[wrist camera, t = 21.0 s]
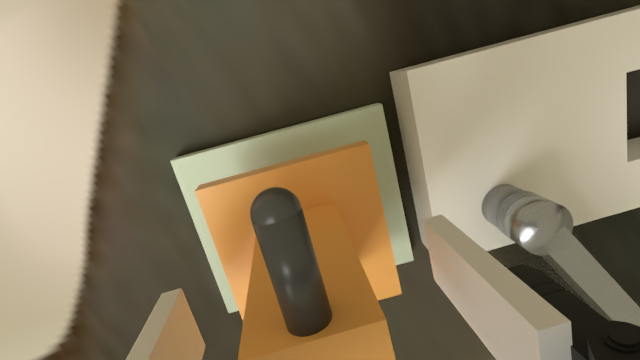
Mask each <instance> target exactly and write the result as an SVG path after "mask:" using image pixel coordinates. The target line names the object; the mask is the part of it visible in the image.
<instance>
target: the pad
mask: <svg viewBox="0 0 640 360" xmlns="http://www.w3.org/2000/svg"><path fill="white" fill-rule="evenodd" d="M361 140H365V141H367V142H368V143H369V145H370V150H371V154H372V159H373V163H374V168H375V172H376V177H377V182H378V186H379V191H380V195H381V200H382V205H383V209H384V214H385V218H386V223H387V227H388V232H389V237H390V241H391V246H392V250H393V255H394V259H395V264H396V265H399V264H403V263H406V262H410V261H413V260H414V259H413V254H412V249H411V244H410V239H409V234H408V229H407V224H406V219H405V214H404V209H403V204H402V199H401V194H400V190H399V185H398V180H397V175H396V170H395V165H394V160H393V155H392V150H391V145H390V140H389V135H388V130H387V125H386V120H385V115H384V110H383V105H382V104H381V103H375V104H371V105H367V106H364V107H360V108H356V109H353V110H349V111H345V112H342V113H338V114H334V115H330V116H327V117H323V118H319V119H316V120H312V121H308V122H305V123H301V124H297V125H293V126H290V127H286V128H282V129H279V130H275V131H271V132H268V133H264V134H260V135H257V136H253V137H249V138H245V139H242V140H238V141H234V142H231V143H227V144H223V145H220V146H216V147H212V148H208V149H205V150H201V151H197V152H194V153H190V154H186V155H183V156H179V157H175V158H174V159H173V160H171V161H170V162H171V164H172V167H173V170H174V172H175V175H176V177H177V180H178V183H179V185H180V188H181V191H182V193H183V196H184V198H185V201H186V204H187V206H188V209H189V211H190V214H191V217H192V219H193V222H194V224H195V227H196V230H197V232H198V235H199V237H200V240H201V243H202V245H203V248H204V250H205V253H206V256H207V258H208V261H209V263H210V266H211V269H212V271H213V274H214V277H215V279H216V282H217V284H218V287H219V290H220V292H221V295H222V297H223V300H224V303H225V305H226V308H227V310H228V313H232V312H235V311H239V309H238V306H237V304H236V301H235V298H234V296H233V293H232V290H231V288H230V285H229V282H228V280H227V277H226V274H225V272H224V269H223V266H222V264H221V261H220V258H219V255H218V253H217V250H216V247H215V245H214V242H213V239H212V237H211V234H210V231H209V229H208V226H207V223H206V221H205V218H204V215H203V213H202V210H201V207H200V205H199V202H198V199H197V196H196V194H195V190H196V189H197V187H198V186H199V185H201V184H204V183H208V182H212V181H215V180H219V179H223V178H226V177H230V176H234V175H237V174H241V173H245V172H248V171H252V170H255V169H259V168H263V167H266V166H270V165H274V164H277V163H281V162H285V161H288V160H292V159H296V158H299V157H303V156H307V155H310V154H314V153H318V152H321V151H325V150H328V149H332V148H336V147H339V146H343V145H347V144H350V143H354V142H358V141H361Z"/></svg>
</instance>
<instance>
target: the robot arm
mask: <svg viewBox="0 0 640 360" xmlns="http://www.w3.org/2000/svg"><path fill="white" fill-rule="evenodd" d="M423 223H424V228H425V233H426V239H427V244H428V250H429V255H430V260H431V266H432V271H433V276H434V280H435V281H436V283H437V284H438V285H439V287H440V288H441V289H442V290H443V292H444V293H445V294H446V296H447V297H448V298H449V299H450V301H451V302H452V303H453V305H454V306H455V307H456V309H457V310H458V311H459V312H460V314H461V315H462V316H463V318H464V319H465V320H466V321H467V323H468V324H469V325H470V327H471V328H472V329H473V330H474V332H475V333H476V334H477V336H478V337H479V338H480V339H481V341H482V342H483V343H484V345H485V346H486V347H487V349H488V350H489V351H490V352H491V354H492V355H493V356H494V358H495V359H496V360H640V326H637V325H634V324H631V323H628V322H622V321H615V320H613V321H609V320H607V319H606V318H605V317H603V316H602V315H600V314H599V313H598V312H596V311H595V310H594V309H592V308H591V307H590V306H588V305H587V304H585V303H584V302H583V301H581V300H580V299H579V298H577V297H576V296H574V295H573V294H572V293H570V292H569V291H568V290H567V291H566V290H565V288H564V287H562V286H561V285H559V284H558V283H557V282H554V280H553V279H551V278H550V277H549V276H547V275H546V274H544V273H543V272H542V271H540V270H538V269H535V268H532V267H529V266H527V265H524V264H521V265H518V266H514V267H511V268H506V267H505V266H503V265H502V264H501V263H500V262H499V261H497V260H496V259H495V258H494V257H493V256H491V255H490V254H489V253H488V252H487V251H485V250H484V249H483V248H482V247H480V246H479V245H478V244H477V243H476V242H474V241H473V240H472V239H471V238H470V237H468V236H467V235H466V234H465V233H464V232H462V231H461V230H460V229H459V228H458V227H456V226H455V225H454V224H453V223H452V222H450V221H449V220H448V219H447V218H446V217H444V216H443V215H442V214H441V215H437V216H434V217H430V218H426V219H423ZM204 350H205V343H204V341H203V338H202V336H201V334H200V331H199V329H198V326H197V324H196V322H195V319H194V317H193V314H192V312H191V310H190V307H189V305H188V302H187V300H186V298H185V295H184V293H183V291H182V288H180V289H176V290H172V291H169V292H165V293H162V294H161V296H160V298H159V300H158V301H157V303H156V305H155V307H154V309H153V311H152V312H151V314H150V316H149V318H148V320H147V322H146V323H145V325H144V327H143V329H142V331H141V333H140V334H139V336H138V338H137V340H136V342H135V344H134V345H133V347H132V349H131V351H130V353H129V355H128V356H127V358H126V360H202V357H203V354H204Z"/></svg>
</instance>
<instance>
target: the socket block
mask: <svg viewBox="0 0 640 360" xmlns="http://www.w3.org/2000/svg"><path fill="white" fill-rule="evenodd" d="M638 69H640V5H638V6H634V7H630V8H627V9H623V10H619V11H616V12H612V13H608V14H604V15H601V16H597V17H593V18H589V19H586V20H582V21H578V22H574V23H571V24H567V25H563V26H560V27H556V28H552V29H548V30H545V31H541V32H537V33H533V34H530V35H526V36H522V37H518V38H515V39H511V40H507V41H504V42H500V43H496V44H492V45H489V46H485V47H481V48H477V49H474V50H470V51H466V52H462V53H459V54H455V55H451V56H448V57H444V58H440V59H436V60H433V61H429V62H425V63H421V64H418V65H414V66H410V67H407V68H403V69H399V70H395V71H392V72H389V74H390V80H391V85H392V90H393V95H394V100H395V106H396V111H397V116H398V121H399V127H400V132H401V137H402V142H403V147H404V153H405V158H406V163H407V168H408V174H409V179H410V184H411V189H412V194H413V200H414V205H415V210H416V215H417V221H418V226H419V231H420V236H421V241H422V243H423V244H424V245H425V247H426V248H427V249H428V244H427V239H426V233H425V228H424V223H423V219H426V218H430V217H434V216H437V215H441V214H442V215H443V216H444V217H446V218H447V219H448V220H449V221H450V222H452V223H453V224H454V225H455V226H456V227H458V228H459V229H460V230H461V231H462V232H464V233H465V234H466V235H467V236H468V237H470V238H471V239H472V240H473V241H474V242H476V243H477V244H478V245H479V246H480V247H482V248H483V249H484V250H485V251H489V250H493V249H496V248H500V247H503V246H507V245H510V244H514V243H515V242H514V241H513V240H511V239H510V238H508V237H507V236H505V235H504V234H503V233H501V231H500V230H499V228H498V226H497V223H496V215H497V211H498V208H499V206H500V205H501V203H502V202H503V201H504V200H505V199H506V198H507V197H508V196H510V195H511V194H513V193H515V192H519V191H530V192H533V193H535V194H538V195H540V196H542V197H544V198H546V199H549V200H551V201H553V202H555V203H558V204H560V205H562V206H564V207H566V208H567V209H568V210H569V211H570V213H571V215H572V217H573V226H576V225H579V224H583V223H586V222H590V221H593V220H597V219H600V218H604V217H607V216H611V215H614V214H618V213H621V212H625V211H628V210H631V209H635V208H638V207H640V137H637V138H634V139H630V140H627V89H626V73H627V72H631V71H634V70H638Z"/></svg>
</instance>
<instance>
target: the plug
mask: <svg viewBox="0 0 640 360" xmlns="http://www.w3.org/2000/svg"><path fill="white" fill-rule="evenodd" d="M195 194H196V196H197V199H198V202H199V205H200V207H201V210H202V213H203V215H204V218H205V221H206V223H207V226H208V229H209V231H210V234H211V237H212V239H213V242H214V245H215V247H216V250H217V253H218V255H219V258H220V261H221V264H222V266H223V269H224V272H225V274H226V277H227V280H228V282H229V285H230V288H231V290H232V293H233V296H234V298H235V301H236V304H237V306H238V309H239V312H240V314H241V317H242V320H243V327H242V334H241V341H240V348H239V354H238V360H396V359H395V354H394V350H393V346H392V342H391V338H390V333H389V329H388V325H387V321H386V318H385V316H384V314H383V311H382V309H381V307H380V305H379V302H378V301H379V300H382V299H385V298H389V297H392V296H396V295H399V294H402V292H401V287H400V282H399V278H398V273H397V269H396V264H395V259H394V255H393V250H392V246H391V241H390V237H389V232H388V227H387V223H386V218H385V214H384V209H383V205H382V200H381V195H380V191H379V186H378V182H377V177H376V172H375V168H374V163H373V159H372V154H371V150H370V145H369V143H368V142H367V141H365V140H361V141H358V142H354V143H350V144H347V145H343V146H339V147H336V148H332V149H328V150H325V151H321V152H318V153H314V154H310V155H307V156H303V157H299V158H296V159H292V160H288V161H285V162H281V163H277V164H274V165H270V166H266V167H263V168H259V169H255V170H252V171H248V172H245V173H241V174H237V175H234V176H230V177H226V178H223V179H219V180H215V181H212V182H208V183H204V184H201V185H199V186H198V187H197V189H196V190H195Z"/></svg>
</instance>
